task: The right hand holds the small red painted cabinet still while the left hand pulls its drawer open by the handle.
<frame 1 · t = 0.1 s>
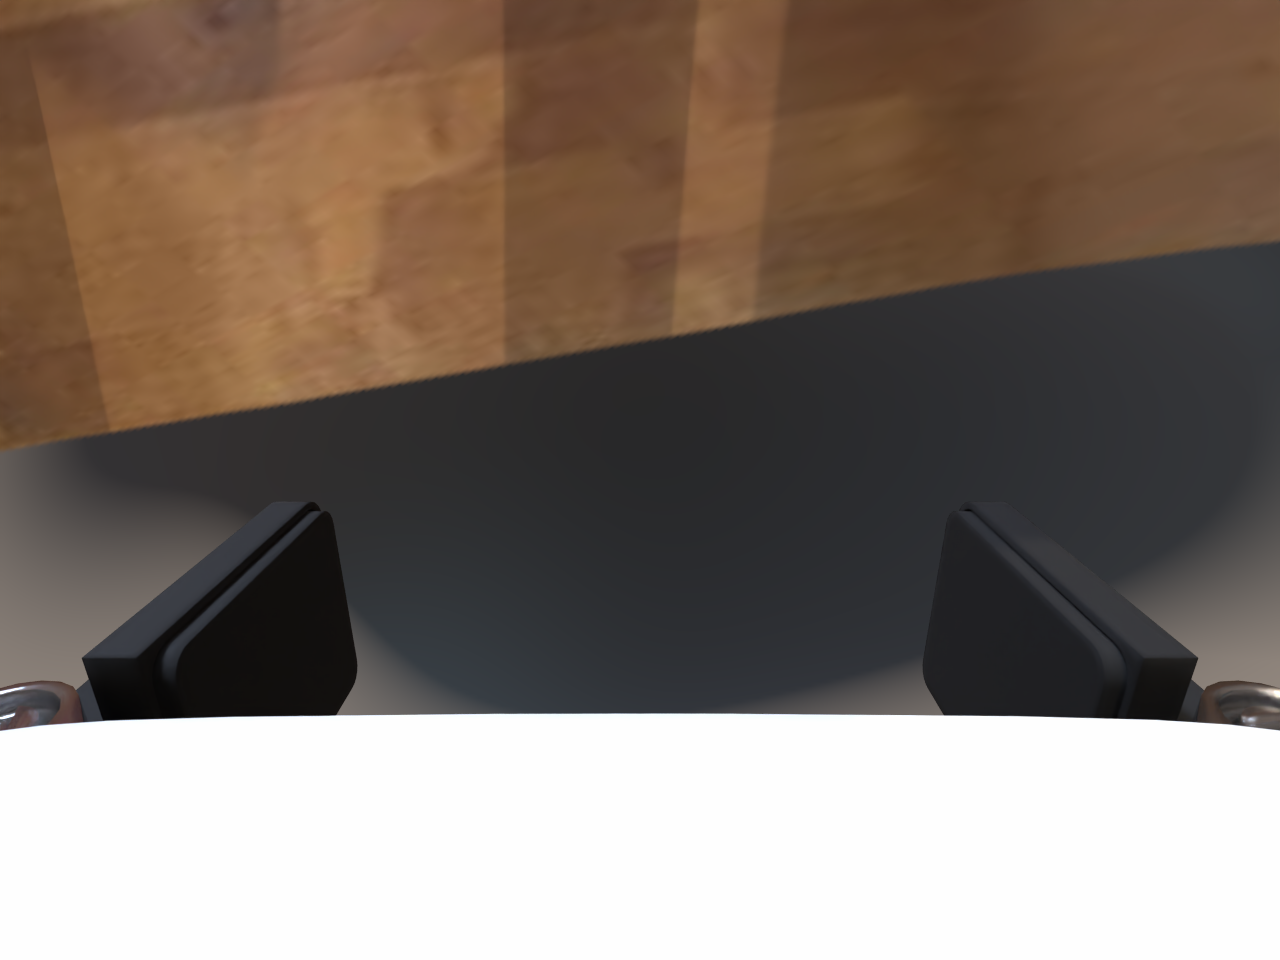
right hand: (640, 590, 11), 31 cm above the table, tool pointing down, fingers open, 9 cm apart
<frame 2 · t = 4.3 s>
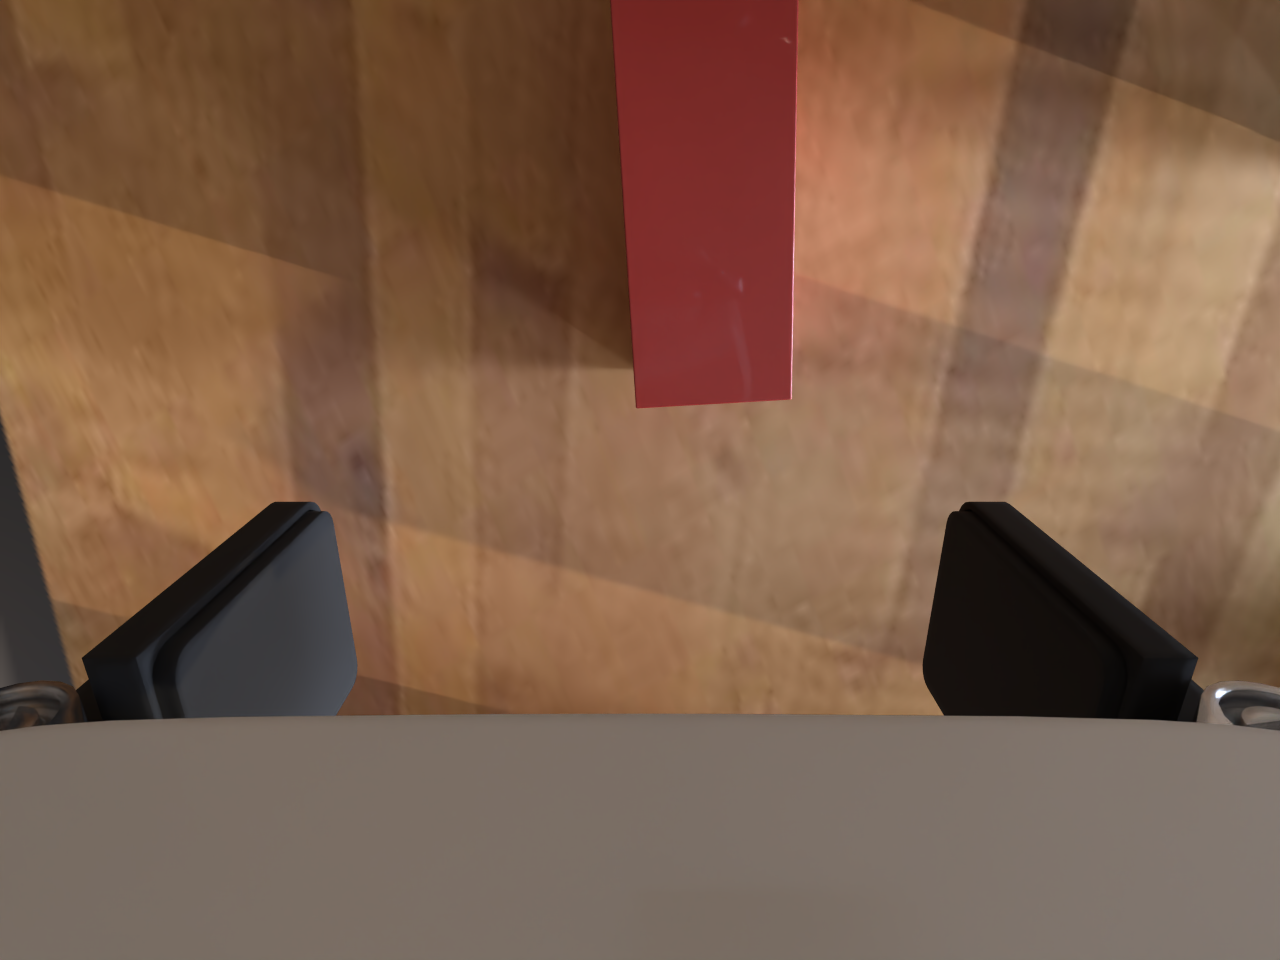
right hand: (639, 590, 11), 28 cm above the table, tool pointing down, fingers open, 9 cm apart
cabinet: (693, 156, 34), on the table
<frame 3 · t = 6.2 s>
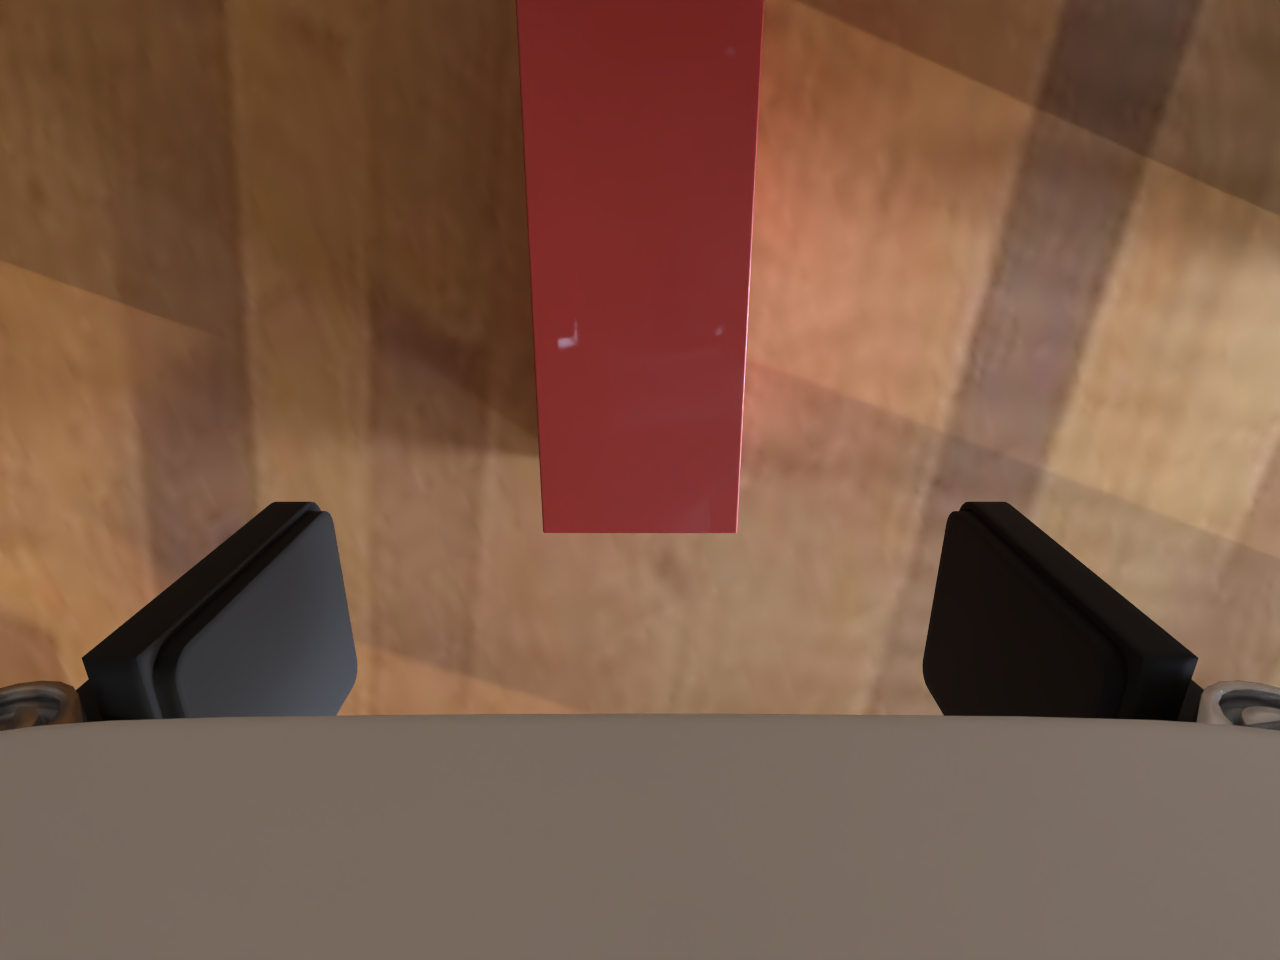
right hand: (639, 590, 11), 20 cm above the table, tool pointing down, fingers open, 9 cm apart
cabinet: (640, 217, 28), on the table
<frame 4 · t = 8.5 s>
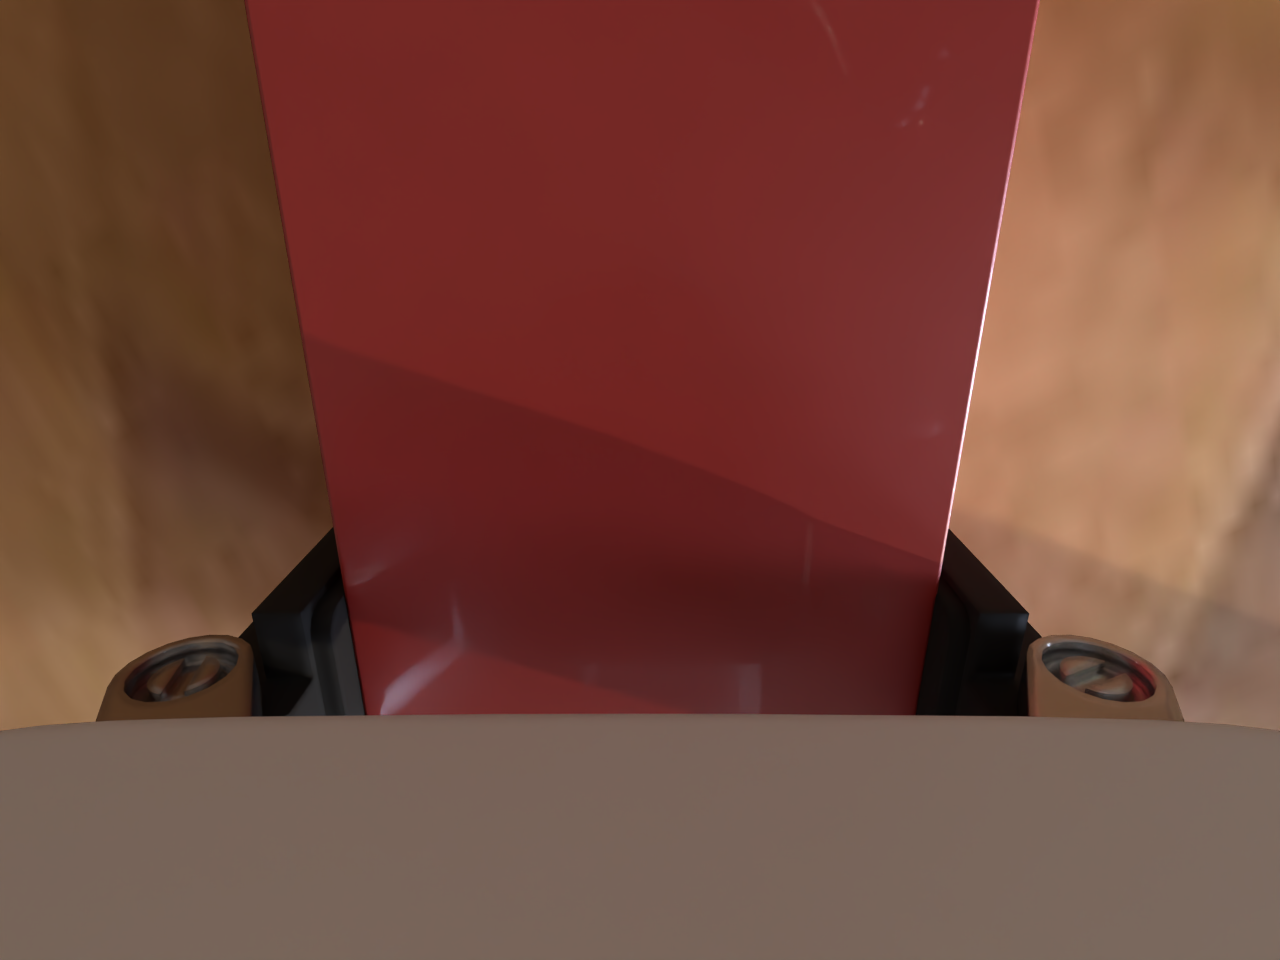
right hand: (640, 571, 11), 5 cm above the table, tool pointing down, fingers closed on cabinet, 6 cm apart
cabinet: (640, 195, 14), on the table, touching right hand
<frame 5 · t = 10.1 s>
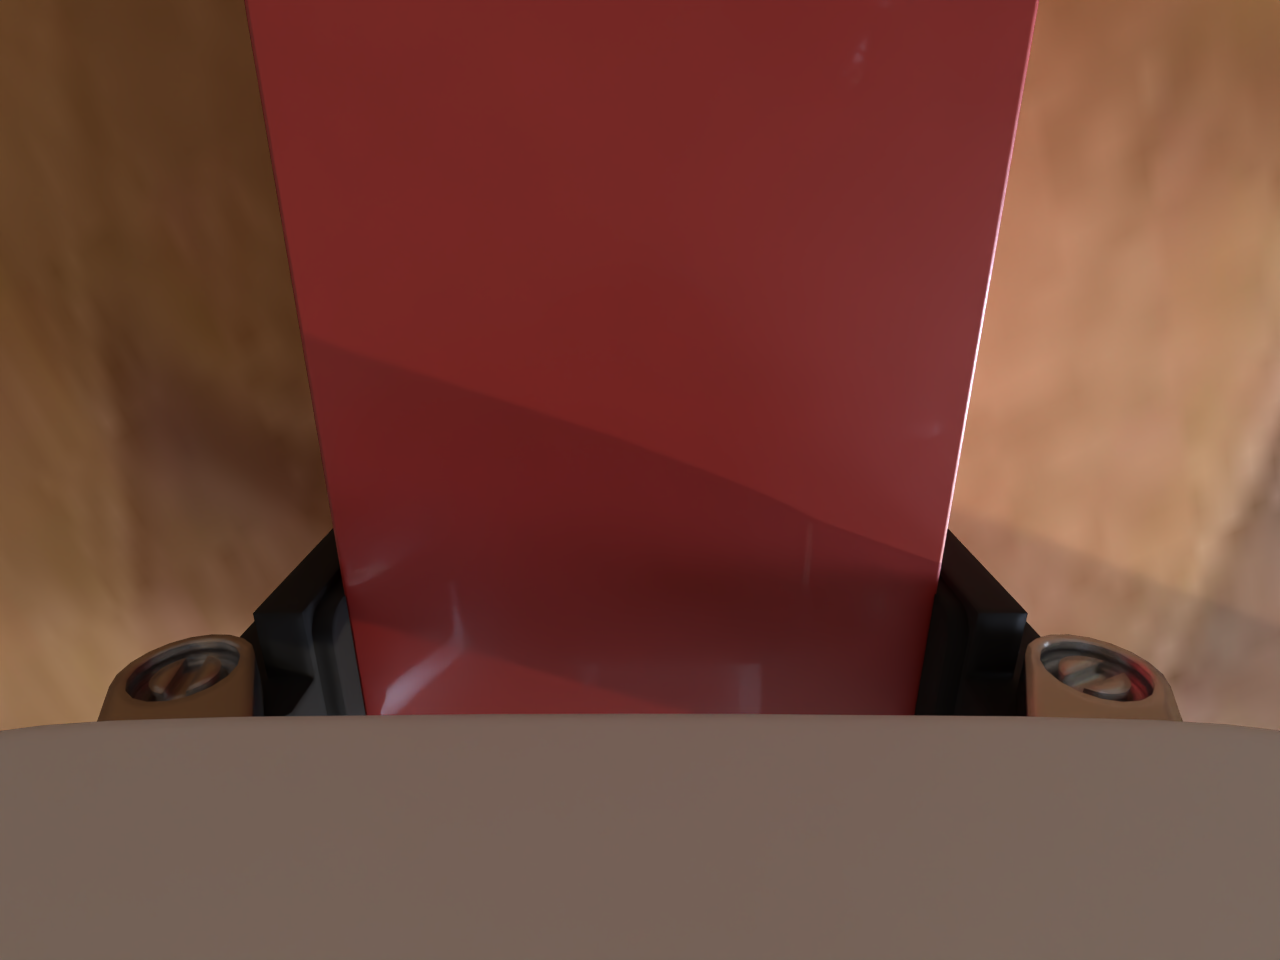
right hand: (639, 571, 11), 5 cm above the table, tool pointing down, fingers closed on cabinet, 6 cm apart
cabinet: (640, 195, 14), on the table, touching right hand
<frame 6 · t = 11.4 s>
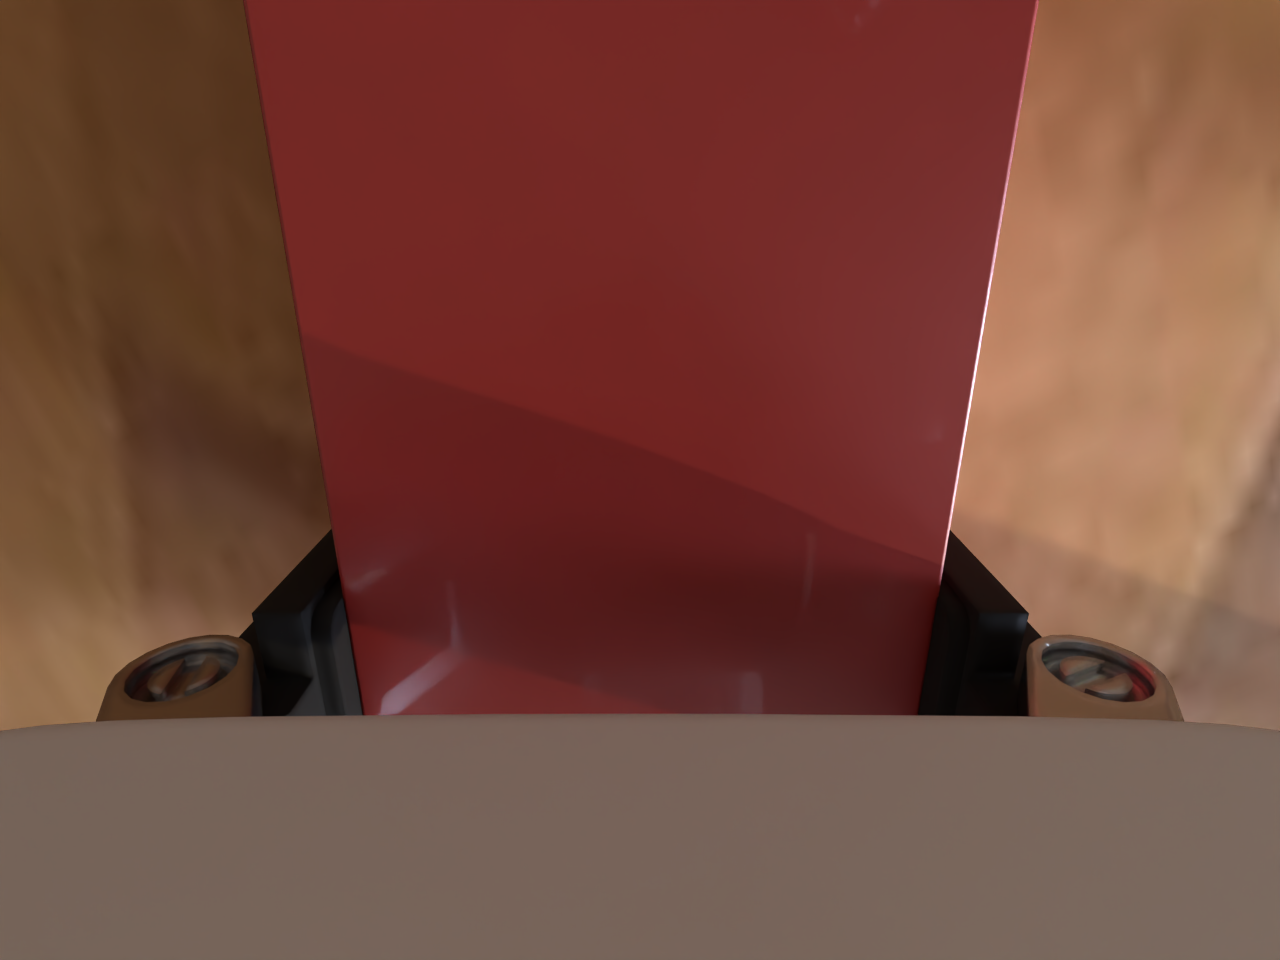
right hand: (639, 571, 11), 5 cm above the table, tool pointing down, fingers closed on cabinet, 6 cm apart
cabinet: (640, 197, 14), on the table, touching right hand
when the right hand's fingers open (5 cm above the table, at t = 13.0 s): cabinet stays where it is, on the table.
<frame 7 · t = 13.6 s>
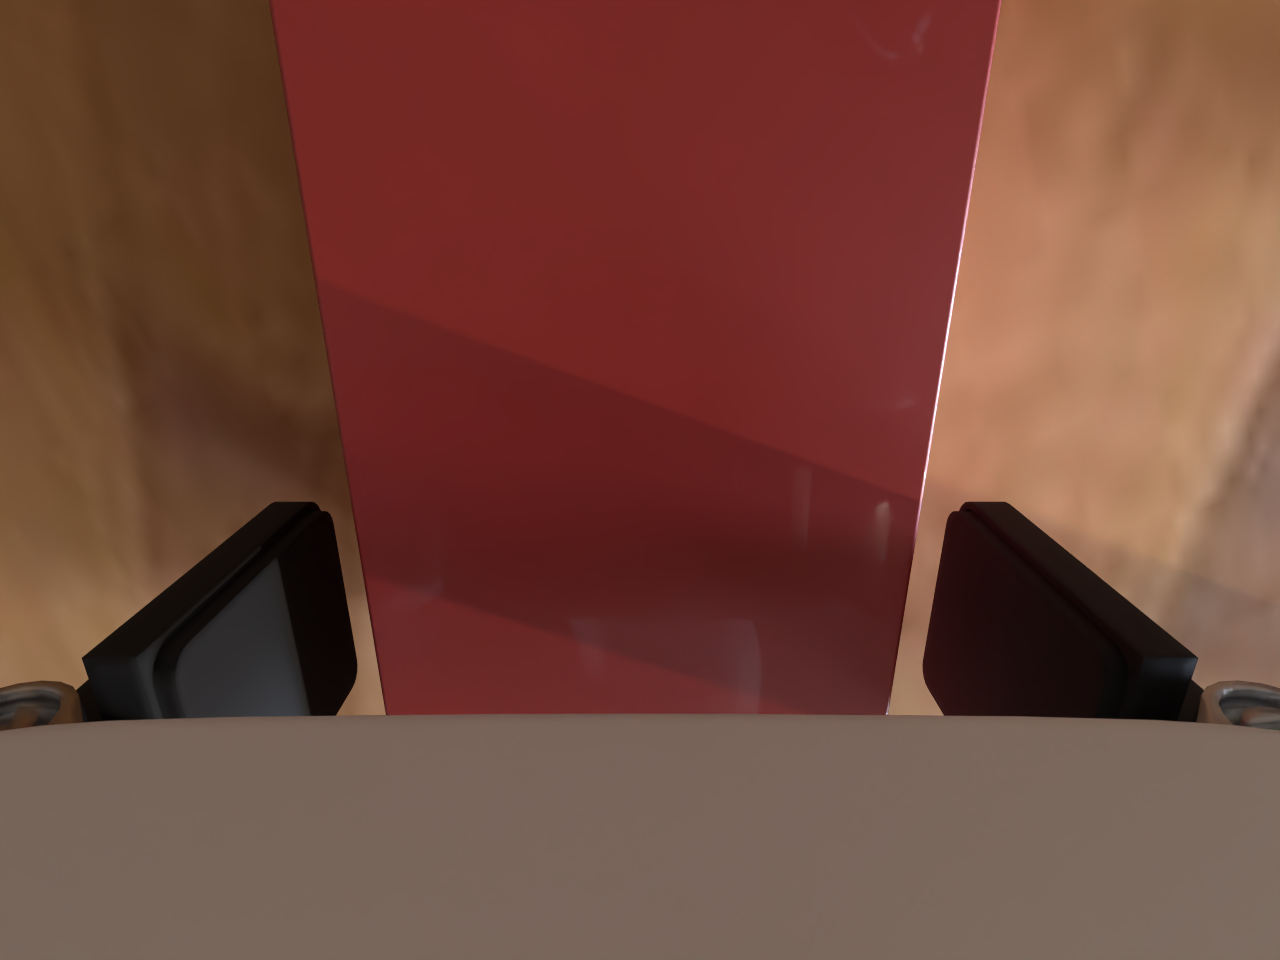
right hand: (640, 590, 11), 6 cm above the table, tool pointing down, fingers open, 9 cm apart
cabinet: (637, 174, 14), on the table
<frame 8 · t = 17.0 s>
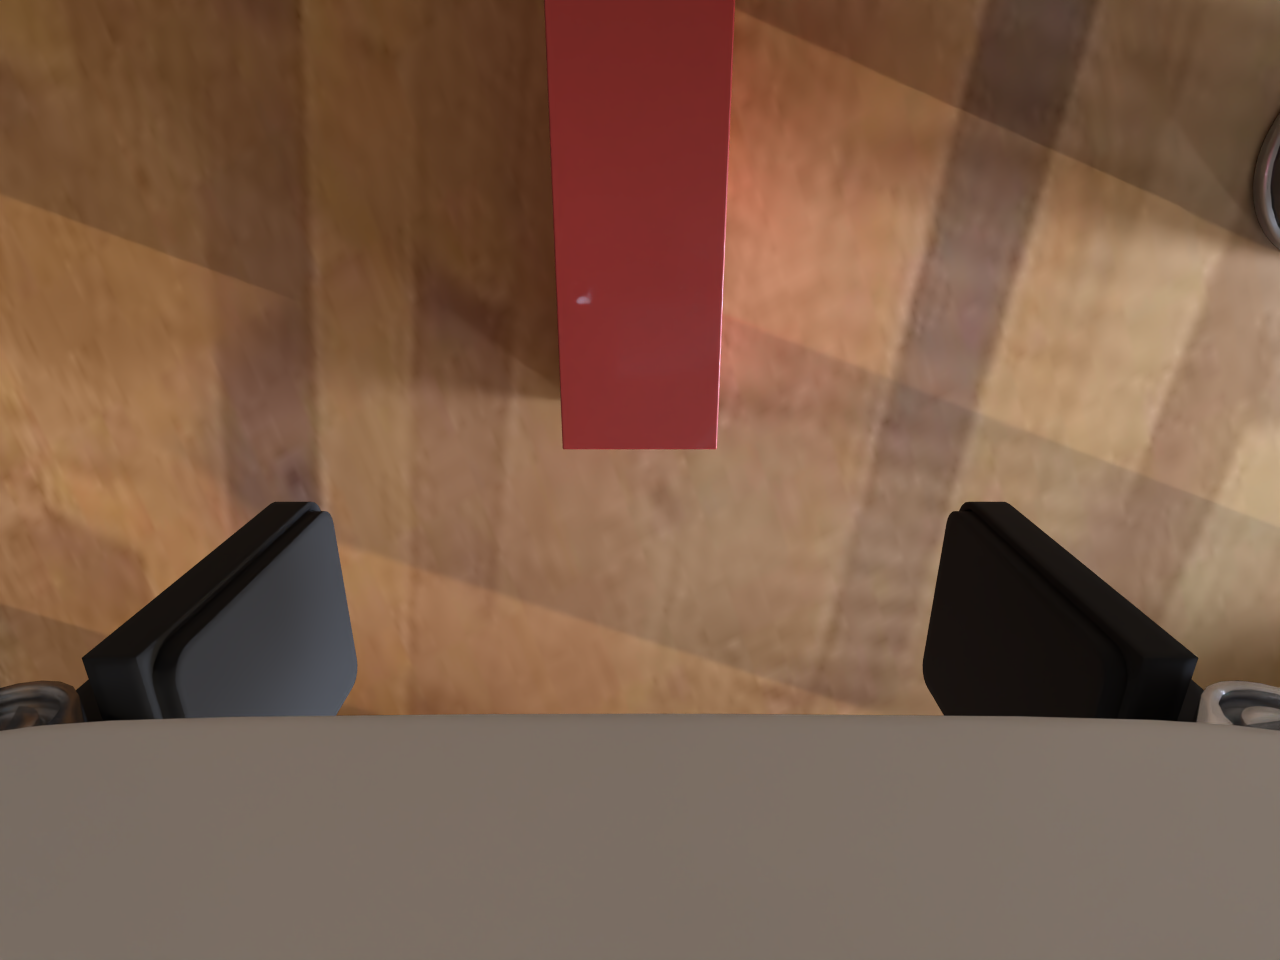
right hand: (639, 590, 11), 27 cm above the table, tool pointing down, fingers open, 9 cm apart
cabinet: (639, 198, 34), on the table
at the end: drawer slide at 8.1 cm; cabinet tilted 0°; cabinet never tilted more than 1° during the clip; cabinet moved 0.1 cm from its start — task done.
